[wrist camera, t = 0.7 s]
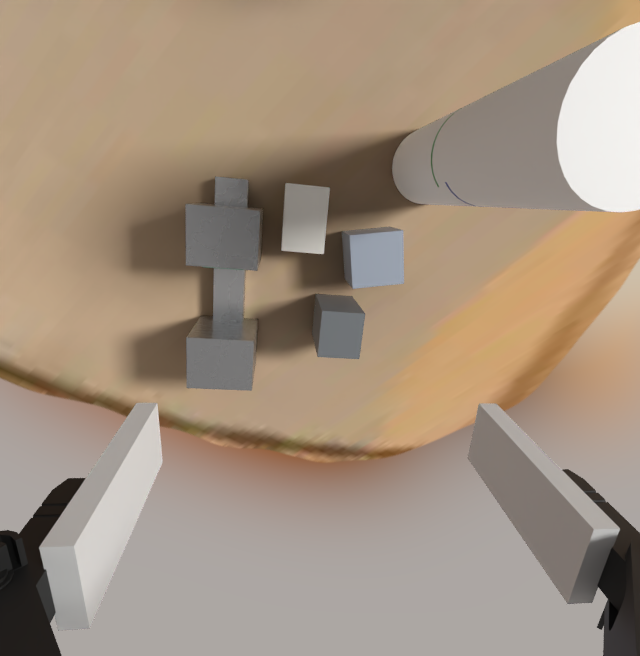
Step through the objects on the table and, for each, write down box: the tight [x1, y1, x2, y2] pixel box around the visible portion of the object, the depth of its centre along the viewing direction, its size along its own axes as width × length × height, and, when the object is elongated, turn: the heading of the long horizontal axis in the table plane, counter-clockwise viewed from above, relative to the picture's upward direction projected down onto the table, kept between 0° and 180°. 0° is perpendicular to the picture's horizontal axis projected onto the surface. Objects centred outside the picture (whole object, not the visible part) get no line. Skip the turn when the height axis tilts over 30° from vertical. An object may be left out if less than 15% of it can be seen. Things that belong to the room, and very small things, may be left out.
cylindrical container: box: [392, 22, 640, 212], centre depth 28 cm, size 7×7×25 cm
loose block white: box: [281, 183, 330, 254], centre depth 39 cm, size 6×4×4 cm, turn 174°
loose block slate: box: [342, 227, 404, 289], centre depth 40 cm, size 5×5×5 cm
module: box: [312, 294, 365, 359], centre depth 41 cm, size 5×4×7 cm
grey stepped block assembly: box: [186, 177, 263, 391], centre depth 38 cm, size 20×6×7 cm, turn 175°
